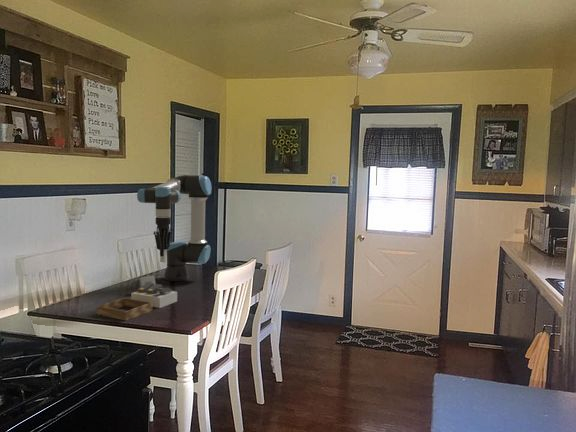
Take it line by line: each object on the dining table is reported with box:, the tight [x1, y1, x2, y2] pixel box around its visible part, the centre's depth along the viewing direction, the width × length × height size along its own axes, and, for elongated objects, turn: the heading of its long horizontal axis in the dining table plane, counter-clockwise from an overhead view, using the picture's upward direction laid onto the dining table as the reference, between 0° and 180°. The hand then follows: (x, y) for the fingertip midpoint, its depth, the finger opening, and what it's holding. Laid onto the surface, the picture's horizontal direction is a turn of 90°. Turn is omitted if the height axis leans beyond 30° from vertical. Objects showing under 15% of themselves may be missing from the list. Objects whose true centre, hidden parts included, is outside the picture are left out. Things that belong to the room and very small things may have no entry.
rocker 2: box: [146, 283, 164, 294], centre depth 248 cm, size 8×4×2 cm, turn 156°
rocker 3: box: [155, 287, 172, 292], centre depth 245 cm, size 8×4×2 cm, turn 156°
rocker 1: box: [137, 283, 154, 293], centre depth 250 cm, size 8×4×2 cm, turn 156°
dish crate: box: [96, 297, 154, 321], centre depth 229 cm, size 18×18×4 cm
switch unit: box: [130, 290, 178, 309], centre depth 248 cm, size 14×18×6 cm
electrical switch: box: [137, 275, 157, 289], centre depth 267 cm, size 9×5×9 cm, turn 141°
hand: (163, 261), depth 251 cm, fingers closed
